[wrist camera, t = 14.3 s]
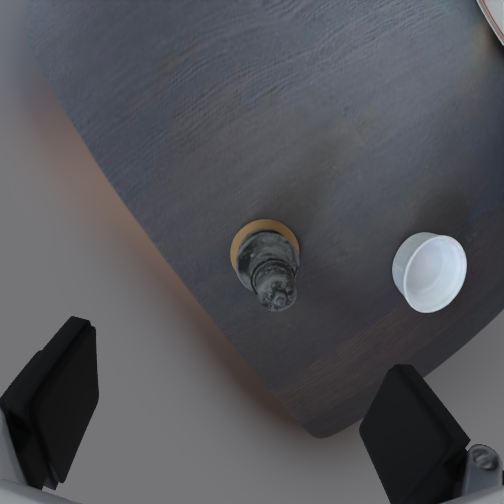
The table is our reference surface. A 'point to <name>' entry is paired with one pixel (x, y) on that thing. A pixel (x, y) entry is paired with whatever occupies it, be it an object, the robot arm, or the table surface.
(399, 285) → the ramekin
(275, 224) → the coaster
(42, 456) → the robot arm
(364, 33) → the table surface
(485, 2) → the dinner plate
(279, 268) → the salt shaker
